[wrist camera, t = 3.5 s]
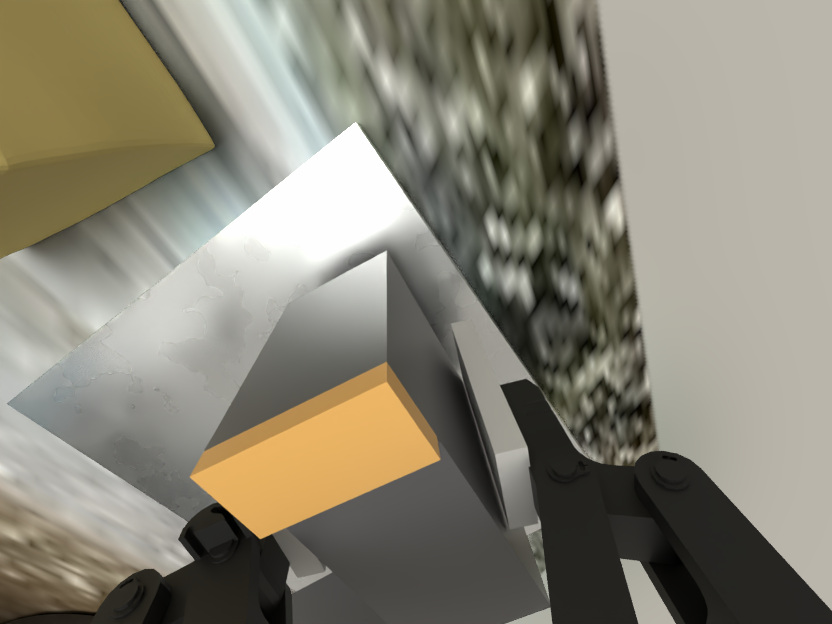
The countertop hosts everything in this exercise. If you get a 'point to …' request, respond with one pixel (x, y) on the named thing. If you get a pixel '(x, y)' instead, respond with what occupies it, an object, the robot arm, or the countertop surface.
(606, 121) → the countertop surface
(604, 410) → the countertop surface
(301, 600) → the knob
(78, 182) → the cheese
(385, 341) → the orange-capped gray block
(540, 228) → the countertop surface
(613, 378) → the countertop surface
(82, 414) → the level plate
